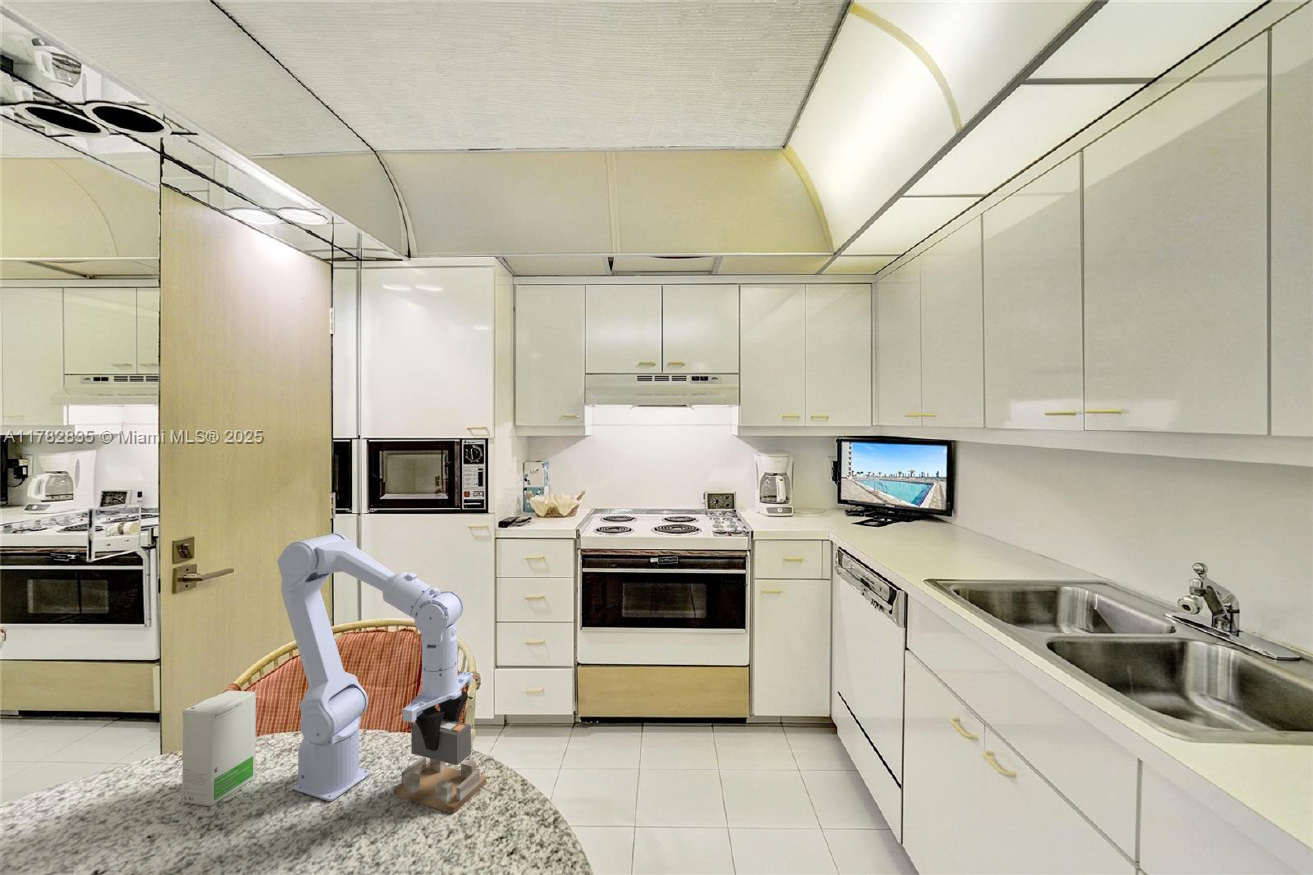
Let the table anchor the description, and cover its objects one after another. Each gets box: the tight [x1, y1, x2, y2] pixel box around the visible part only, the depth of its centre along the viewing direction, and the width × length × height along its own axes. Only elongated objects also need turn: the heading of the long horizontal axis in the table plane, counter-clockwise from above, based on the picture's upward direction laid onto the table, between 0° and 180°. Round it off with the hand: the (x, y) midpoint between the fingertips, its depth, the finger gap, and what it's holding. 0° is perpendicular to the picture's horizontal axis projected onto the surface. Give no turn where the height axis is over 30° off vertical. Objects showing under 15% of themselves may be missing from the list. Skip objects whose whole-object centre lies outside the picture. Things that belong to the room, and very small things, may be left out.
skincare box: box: [181, 690, 257, 807], centre depth 90 cm, size 8×7×16 cm
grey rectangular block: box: [410, 719, 472, 766], centre depth 89 cm, size 10×3×5 cm, turn 70°
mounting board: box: [393, 756, 487, 814], centre depth 89 cm, size 13×8×4 cm, turn 70°
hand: (440, 742), depth 89 cm, fingers closed on grey rectangular block, 3 cm apart
